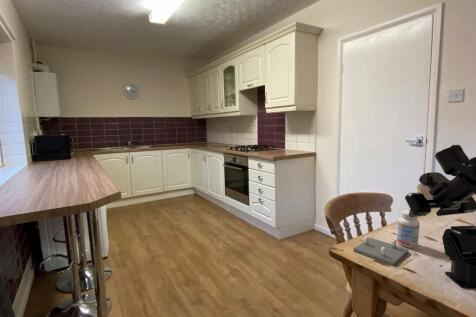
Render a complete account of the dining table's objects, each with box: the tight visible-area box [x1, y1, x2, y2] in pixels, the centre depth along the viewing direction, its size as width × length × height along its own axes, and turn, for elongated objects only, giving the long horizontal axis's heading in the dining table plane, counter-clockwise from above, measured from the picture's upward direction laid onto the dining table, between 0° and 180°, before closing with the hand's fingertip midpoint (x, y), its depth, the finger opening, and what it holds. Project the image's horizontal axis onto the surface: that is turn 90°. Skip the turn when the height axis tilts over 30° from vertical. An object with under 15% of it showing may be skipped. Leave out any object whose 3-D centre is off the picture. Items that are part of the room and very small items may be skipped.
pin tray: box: [352, 235, 410, 267], centre depth 87 cm, size 12×12×4 cm
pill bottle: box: [396, 209, 420, 249], centre depth 91 cm, size 6×6×11 cm
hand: (423, 215), depth 84 cm, fingers open, 9 cm apart
